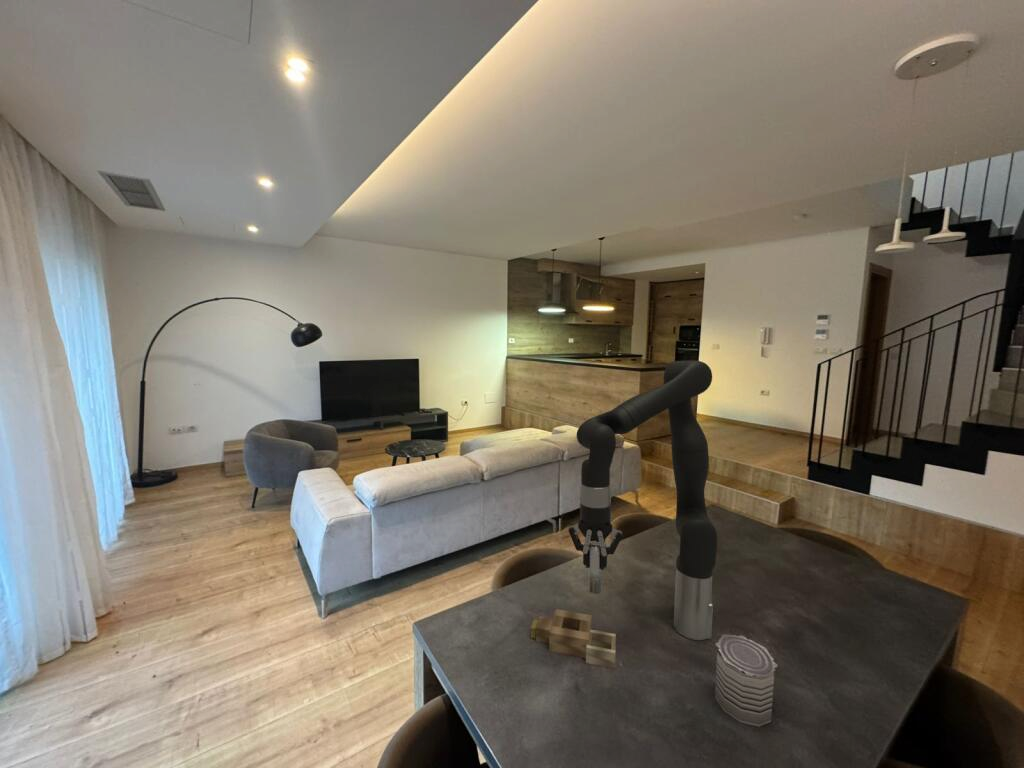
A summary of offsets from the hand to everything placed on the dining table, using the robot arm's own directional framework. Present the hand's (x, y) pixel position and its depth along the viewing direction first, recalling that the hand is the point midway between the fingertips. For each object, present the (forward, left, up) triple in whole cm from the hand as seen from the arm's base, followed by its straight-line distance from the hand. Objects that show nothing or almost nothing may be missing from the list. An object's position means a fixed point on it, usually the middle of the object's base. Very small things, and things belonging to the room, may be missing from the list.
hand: (594, 566), depth 103 cm
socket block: (+8, -2, -23) cm, 24 cm away
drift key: (+12, -2, -22) cm, 26 cm away
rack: (-2, +1, -23) cm, 23 cm away
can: (-33, +7, -23) cm, 41 cm away
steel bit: (0, 0, -6) cm, 6 cm away
